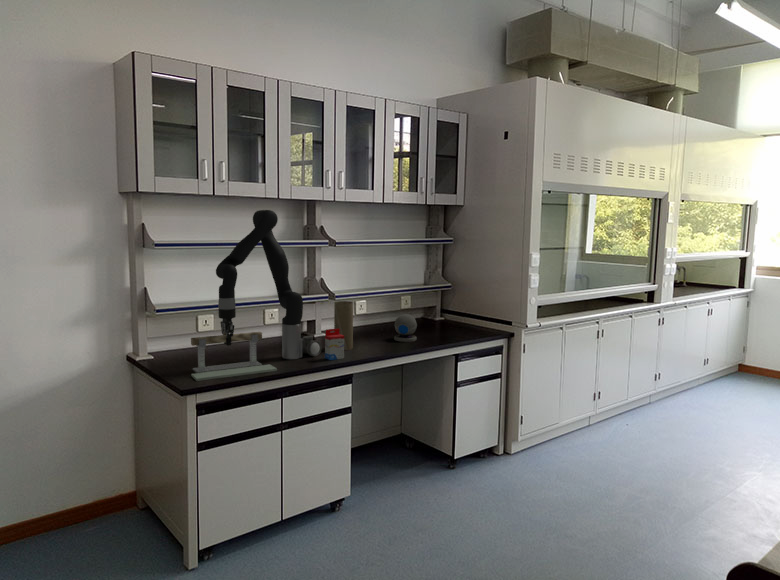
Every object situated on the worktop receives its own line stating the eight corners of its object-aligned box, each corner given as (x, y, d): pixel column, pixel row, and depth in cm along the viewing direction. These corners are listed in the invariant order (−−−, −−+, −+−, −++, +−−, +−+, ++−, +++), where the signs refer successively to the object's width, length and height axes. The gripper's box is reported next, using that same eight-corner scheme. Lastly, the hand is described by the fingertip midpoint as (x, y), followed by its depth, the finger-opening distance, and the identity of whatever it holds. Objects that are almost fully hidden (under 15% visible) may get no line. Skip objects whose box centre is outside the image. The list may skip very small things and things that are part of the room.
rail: (259, 337, 279) (259, 331, 279) (262, 339, 277) (262, 332, 276) (191, 344, 262) (190, 337, 262) (192, 345, 260) (192, 339, 259)
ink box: (329, 360, 289) (329, 331, 287) (324, 358, 293) (324, 329, 291) (344, 358, 294) (344, 329, 292) (339, 356, 298) (339, 328, 296)
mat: (269, 366, 275) (269, 364, 275) (276, 370, 268) (276, 368, 268) (191, 376, 256) (191, 373, 256) (196, 381, 249) (196, 378, 249)
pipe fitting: (323, 354, 300) (320, 334, 299) (311, 358, 294) (308, 338, 293) (307, 353, 308) (304, 334, 307) (295, 357, 302) (293, 337, 301)
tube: (344, 345, 325) (344, 300, 322) (356, 348, 318) (356, 302, 315) (330, 348, 317) (330, 302, 314) (342, 351, 310) (343, 304, 308)
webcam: (418, 338, 348) (418, 313, 347) (413, 342, 336) (414, 316, 334) (397, 336, 351) (397, 312, 350) (391, 340, 339) (392, 315, 337)
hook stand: (256, 362, 282) (256, 331, 280) (262, 366, 276) (261, 334, 274) (192, 370, 266) (191, 337, 265) (197, 374, 260) (196, 340, 258)
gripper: (239, 309, 264) (240, 346, 266) (230, 305, 276) (230, 341, 278) (223, 310, 260) (224, 348, 262) (214, 306, 272) (215, 342, 274)
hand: (227, 344), depth 270 cm, fingers closed on rail, 3 cm apart
